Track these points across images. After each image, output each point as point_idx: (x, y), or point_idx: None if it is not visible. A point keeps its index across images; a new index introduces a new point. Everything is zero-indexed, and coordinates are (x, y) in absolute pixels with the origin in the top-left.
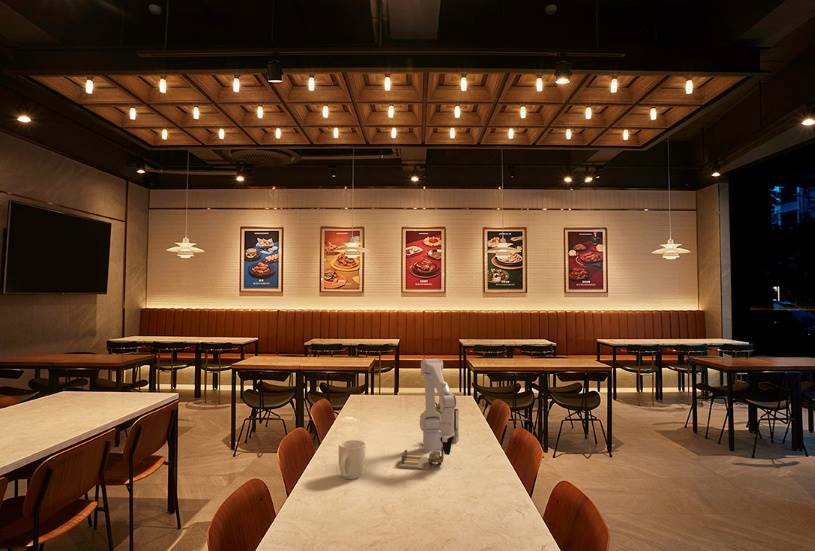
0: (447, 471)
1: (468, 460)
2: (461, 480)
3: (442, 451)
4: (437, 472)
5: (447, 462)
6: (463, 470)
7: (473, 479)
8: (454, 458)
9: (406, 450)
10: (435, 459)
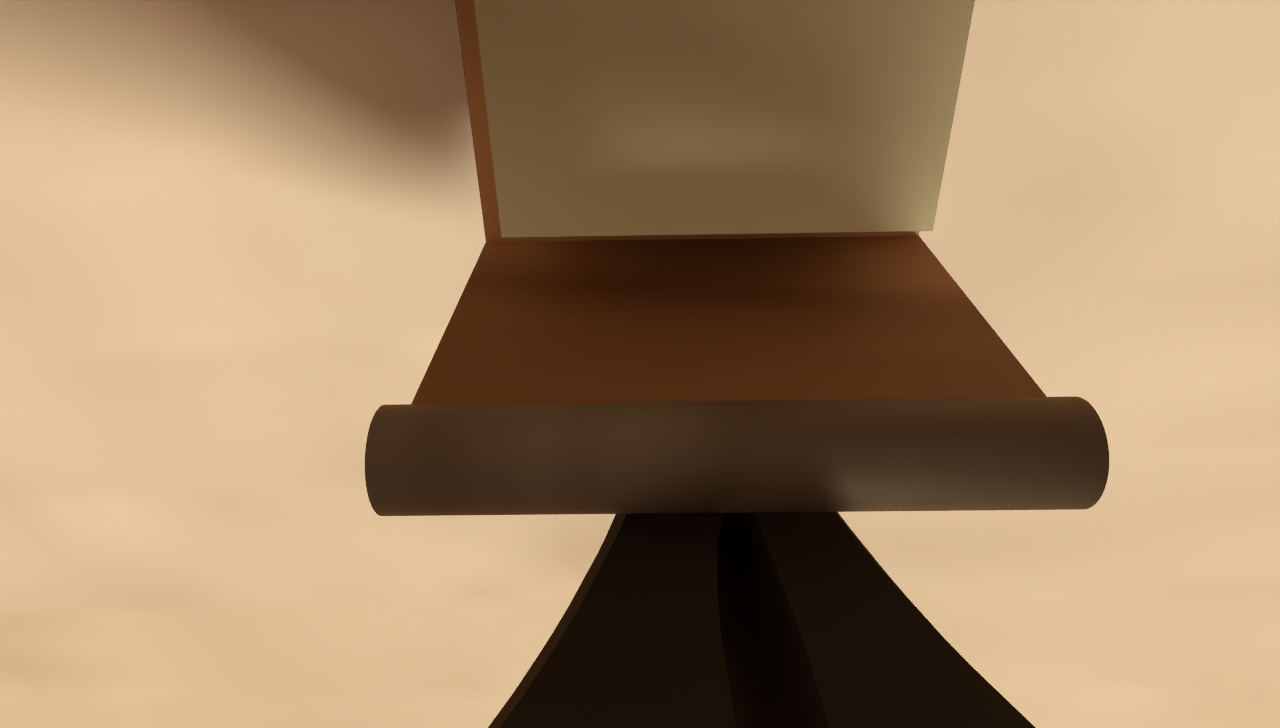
0: (341, 329)
1: (1076, 646)
2: (10, 581)
3: (389, 473)
4: (158, 94)
5: (961, 284)
6: (515, 593)
7: (169, 716)
8: (1244, 417)
9: None
10: (471, 19)
